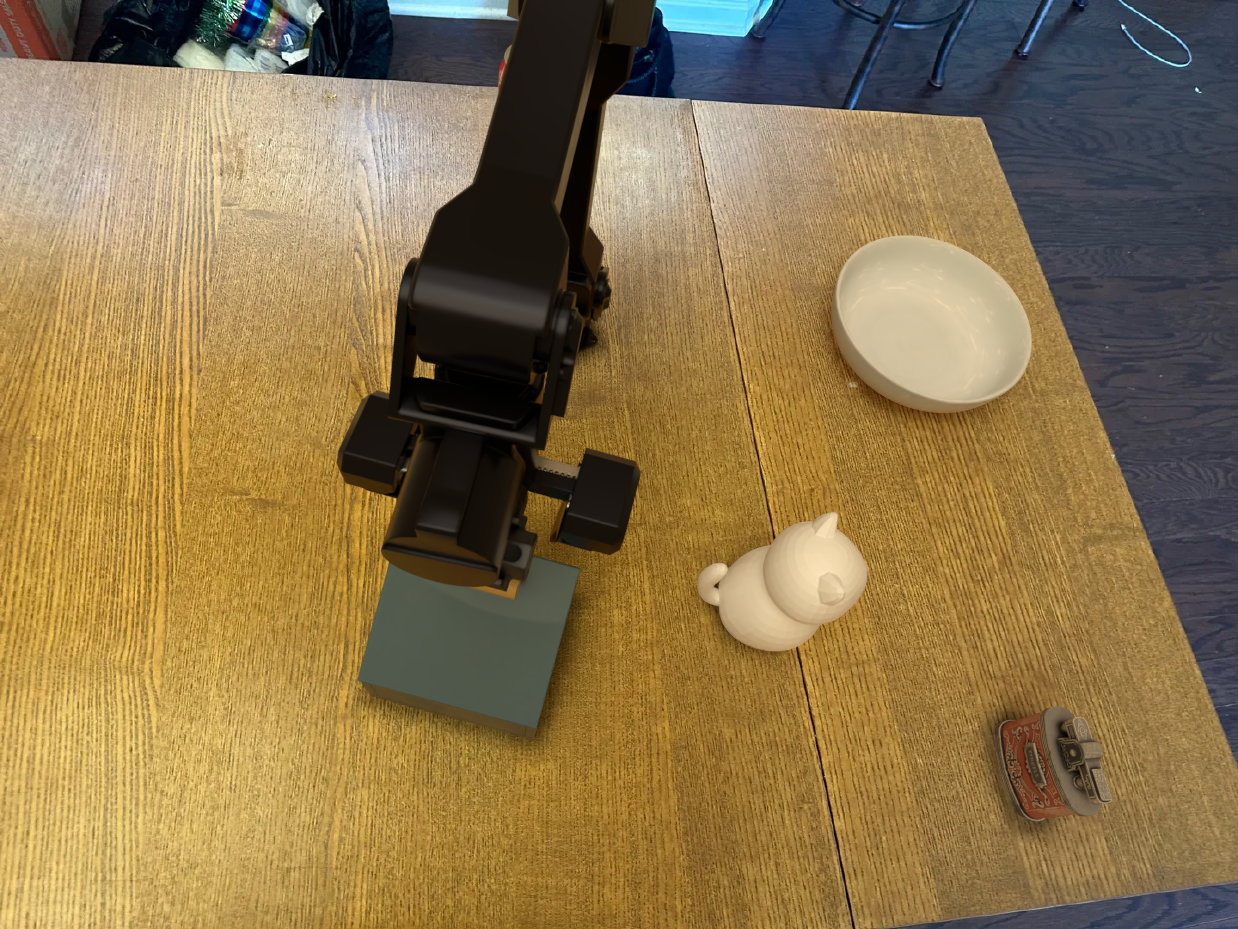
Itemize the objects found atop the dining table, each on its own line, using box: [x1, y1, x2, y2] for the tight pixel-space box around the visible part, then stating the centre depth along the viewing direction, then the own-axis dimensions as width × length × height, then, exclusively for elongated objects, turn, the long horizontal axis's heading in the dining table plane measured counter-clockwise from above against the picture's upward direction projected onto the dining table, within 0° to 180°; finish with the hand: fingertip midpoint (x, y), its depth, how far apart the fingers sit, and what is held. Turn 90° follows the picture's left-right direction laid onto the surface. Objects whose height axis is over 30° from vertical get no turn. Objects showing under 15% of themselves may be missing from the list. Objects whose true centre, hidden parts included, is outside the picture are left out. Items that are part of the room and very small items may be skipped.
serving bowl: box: [830, 234, 1033, 414], centre depth 85 cm, size 21×21×7 cm
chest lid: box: [357, 554, 581, 729], centre depth 57 cm, size 12×14×5 cm
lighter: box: [993, 705, 1113, 823], centre depth 65 cm, size 8×3×10 cm, turn 5°
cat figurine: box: [696, 511, 868, 652], centre depth 66 cm, size 9×12×15 cm
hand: (493, 520), depth 60 cm, fingers open, 9 cm apart
